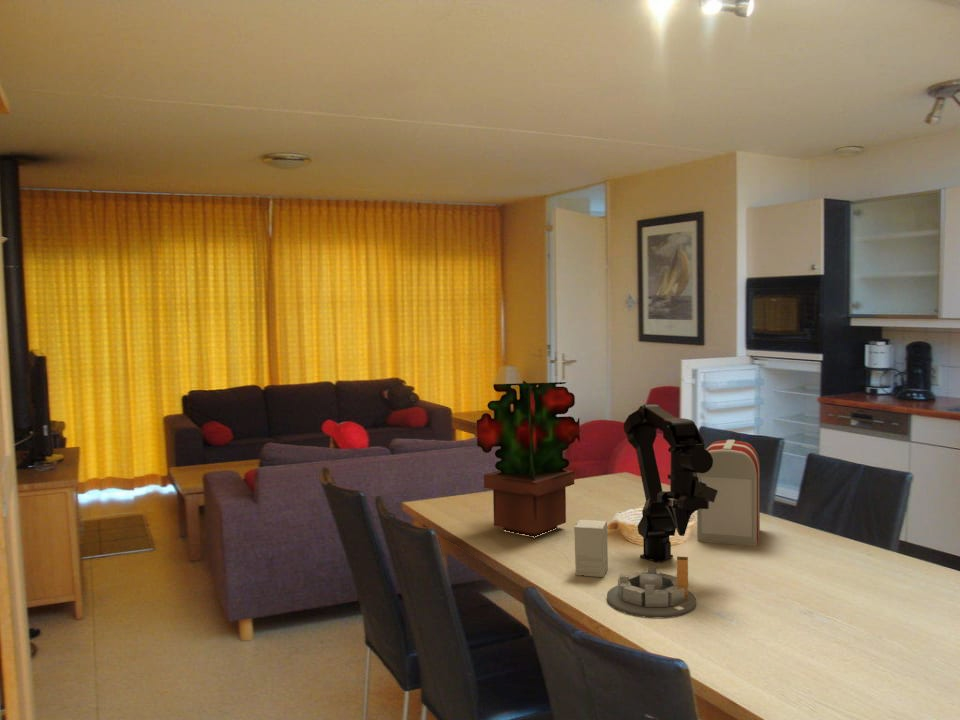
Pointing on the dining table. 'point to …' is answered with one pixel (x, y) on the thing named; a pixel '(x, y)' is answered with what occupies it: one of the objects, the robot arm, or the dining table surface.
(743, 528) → the red-striped tombstone block
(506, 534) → the dining table surface
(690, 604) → the grey stone circle model
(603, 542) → the supplement box
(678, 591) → the grey stone ring wall
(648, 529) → the robot arm
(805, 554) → the dining table surface
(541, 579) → the dining table surface
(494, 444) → the potted plant
